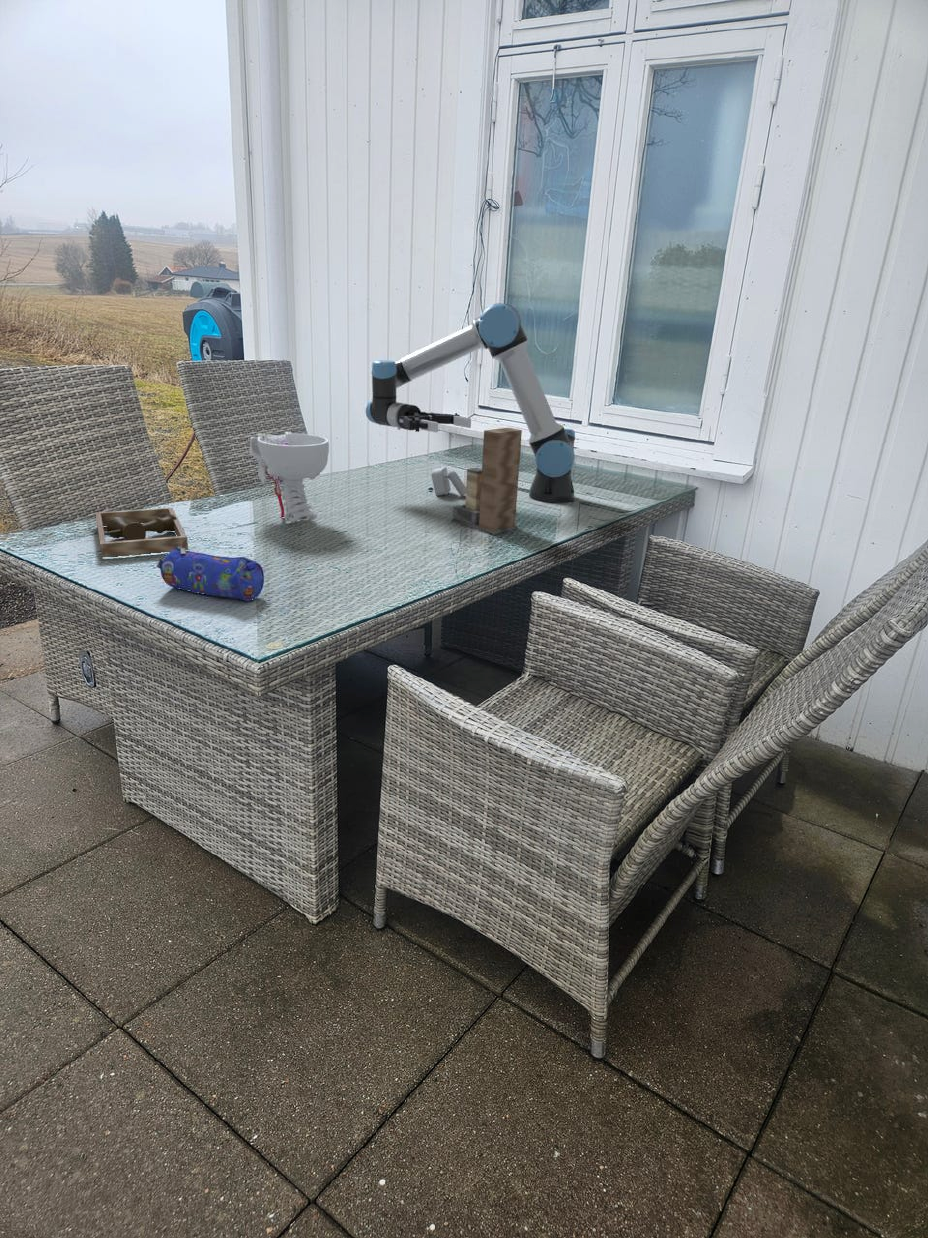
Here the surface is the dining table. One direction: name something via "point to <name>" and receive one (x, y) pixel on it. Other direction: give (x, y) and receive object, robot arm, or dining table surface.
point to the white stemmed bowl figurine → (290, 467)
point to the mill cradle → (143, 544)
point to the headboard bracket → (496, 484)
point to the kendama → (138, 527)
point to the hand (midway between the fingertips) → (453, 425)
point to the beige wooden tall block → (473, 489)
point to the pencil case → (212, 574)
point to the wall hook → (446, 482)
